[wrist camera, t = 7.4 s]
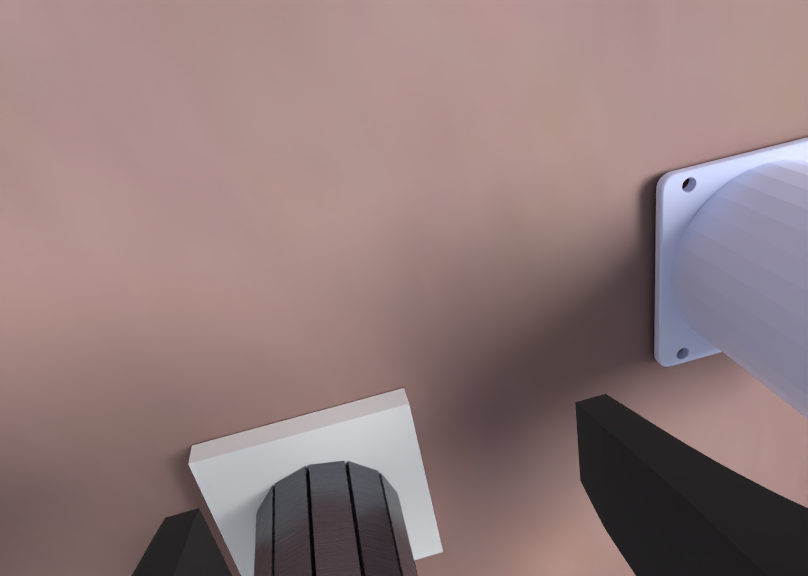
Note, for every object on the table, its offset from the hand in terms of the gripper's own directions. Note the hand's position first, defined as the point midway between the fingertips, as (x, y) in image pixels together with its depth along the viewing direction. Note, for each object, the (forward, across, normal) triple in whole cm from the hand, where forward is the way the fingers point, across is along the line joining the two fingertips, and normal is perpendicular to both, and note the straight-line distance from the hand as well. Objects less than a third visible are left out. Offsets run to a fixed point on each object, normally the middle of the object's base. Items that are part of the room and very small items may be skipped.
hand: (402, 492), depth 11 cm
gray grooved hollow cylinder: (+9, +3, +9) cm, 13 cm away
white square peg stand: (+10, +3, +9) cm, 14 cm away
